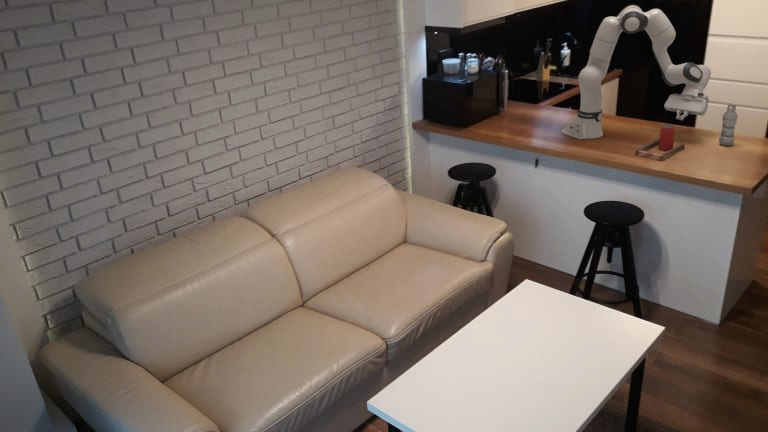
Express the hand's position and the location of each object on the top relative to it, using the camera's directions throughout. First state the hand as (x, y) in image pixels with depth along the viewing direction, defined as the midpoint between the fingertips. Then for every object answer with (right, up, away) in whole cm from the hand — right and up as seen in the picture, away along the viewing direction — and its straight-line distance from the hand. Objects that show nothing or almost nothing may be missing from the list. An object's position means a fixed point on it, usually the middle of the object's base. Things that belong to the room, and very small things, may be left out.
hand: (679, 119), depth 309 cm
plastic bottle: (+22, -13, -3) cm, 26 cm away
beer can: (-7, -15, 0) cm, 17 cm away
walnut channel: (-12, -17, -3) cm, 21 cm away
